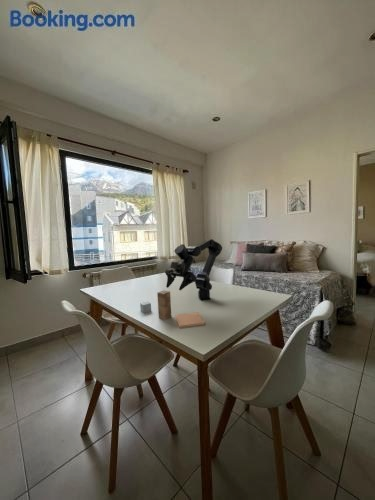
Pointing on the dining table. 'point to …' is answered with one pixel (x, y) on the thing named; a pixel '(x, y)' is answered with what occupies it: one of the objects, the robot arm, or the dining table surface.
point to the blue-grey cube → (145, 306)
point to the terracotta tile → (189, 320)
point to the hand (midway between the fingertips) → (173, 288)
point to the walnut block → (164, 304)
